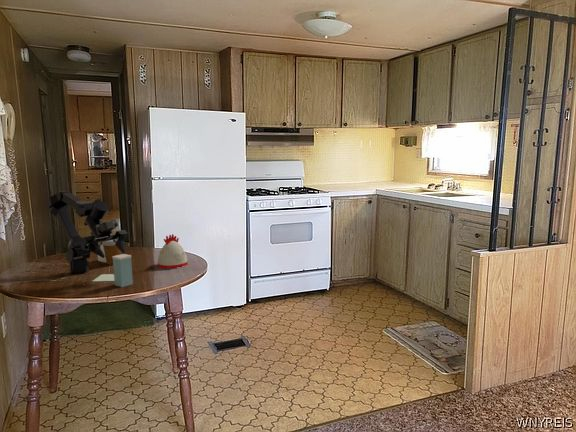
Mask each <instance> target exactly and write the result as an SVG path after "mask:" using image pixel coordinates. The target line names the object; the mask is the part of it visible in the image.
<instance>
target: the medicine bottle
mask: <svg viewBox="0 0 576 432" xmlns="http://www.w3.org/2000/svg"><path fill="white" fill-rule="evenodd" d="M99 243H100V246H99V247H100V249H101V250H102V252H103V254H104V256H105V252H104V247H103V245H102V242H99ZM97 261H98V262H101V263H106V264H107V261H106V257H104V258H102V257H100V256H99V255H97Z"/></svg>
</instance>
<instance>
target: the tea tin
mask: <svg viewBox="0 0 576 432" xmlns="http://www.w3.org/2000/svg"><path fill="white" fill-rule="evenodd" d="M112 258H113V265H112V268H113V274H114V281H113V282H114V286H116V287H120V288H123V287H124V288H125V287H127V286H131V285H133V284H134V283H133V282H134V281H133V279H134V278H133V266H132V255H131V254H125V253H121V255H116V256H112Z"/></svg>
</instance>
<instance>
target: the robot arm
mask: <svg viewBox="0 0 576 432" xmlns="http://www.w3.org/2000/svg"><path fill="white" fill-rule="evenodd" d="M69 207H70V208H72V209H74V210H75V212H74V213H75V214H76V215H77V216H79V218H84V217H86V218H85V219H84V222H83V225H84V226H85V227H86V226H87V227H88V228H89V230H90V235H87V236H84V237H82V236H80V234H79V232H78V230H77V227H75V225H74V223H73V220H72V218H71V216H70V215H69V213H68V209H69ZM45 208H47V210H48V211H49V213H50V214H52V215H53V216H55V217H56V218H57V221H58V223H59V225H60V227H61V229H62V230H63V233H64V234H65V237H66V238H67V240H68V246H67V252H66V255H65V259H66V261H68V262H69V265H70V267H69V268H70V272H68V274H69V275H83V274H85V273H87V272H89V271H90V268H89V261H88V259H89V258H91V253H94V254H96V255H97V256H98V255H99V256H100V257H102V258H104V257H105V256H104V254H103V252H102V250H101V249H100V247H101V246H100V245H99V243H100V242H105V241H111V240H113V241H114V242H115V245H116V246H117V247H118V249H119V250H120V251H121V254H125V253H126V251H125V244H124V241H125V239H126V237H127V236H128V232H127V231H126V229H123V230H116V231H115V233H114V234H113V230H114V229H116V228H117V227H119V223H118V221H117V220H116V219H111V220H110V221H103V219H104V218H106V217H105V216H106V215H107V213H108V211H109V209H110V205H109V204H108V203H107V202H105V201H103V200H101V199H100V198H99V199H95V200H94V202H92V201H88V200H82V199H81V198H79V197H78V196H76V195H74V194H73V193H72V192H71V191H69V190H61V191H58V192H56V193H55V194H54V195H51V196H49V197H48V198H47V199H46V201H45ZM111 234H112V235H111Z"/></svg>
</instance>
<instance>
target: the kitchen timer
mask: <svg viewBox="0 0 576 432" xmlns="http://www.w3.org/2000/svg"><path fill="white" fill-rule="evenodd" d="M168 235H169V236H168ZM168 235H166V236H165V238H163V242H164V243H165V244H164V245H163V246H162V247H161V250H160V251H159V253H158V258H157V267H158V268H159V267H160V268H159V269H163V268H175V269H178V268H177V267H181V268H183V267H182V266H184V267H186V266H188V265H189V264H188V263H189V261H188V256H187V254H186V251H185V249H184V247H183V246H182V245H181V244H180V243H179V239H180V237H177V236H176V235H174V234H168ZM185 265H186V266H185Z"/></svg>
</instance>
